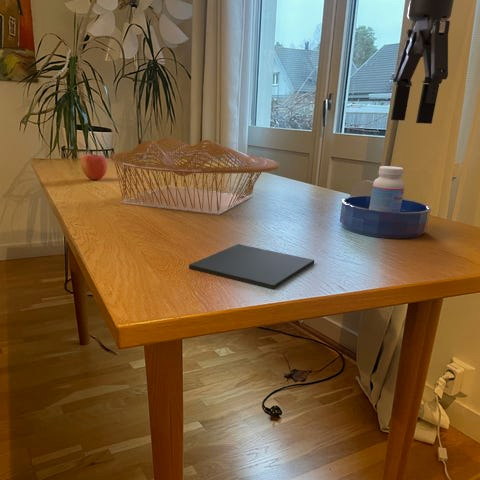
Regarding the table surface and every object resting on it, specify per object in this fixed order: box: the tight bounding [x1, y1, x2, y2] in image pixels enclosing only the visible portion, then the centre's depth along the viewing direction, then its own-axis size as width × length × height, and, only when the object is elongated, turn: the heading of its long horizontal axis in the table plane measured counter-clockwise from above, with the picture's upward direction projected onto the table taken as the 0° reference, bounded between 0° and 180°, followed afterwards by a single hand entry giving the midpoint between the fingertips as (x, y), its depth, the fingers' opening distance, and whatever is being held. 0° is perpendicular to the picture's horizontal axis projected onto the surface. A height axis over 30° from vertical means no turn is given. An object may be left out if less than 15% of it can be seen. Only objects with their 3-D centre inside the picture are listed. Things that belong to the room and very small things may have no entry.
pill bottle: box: [369, 165, 406, 212], centre depth 95 cm, size 6×6×11 cm
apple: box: [80, 149, 108, 181], centre depth 136 cm, size 7×7×8 cm
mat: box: [188, 243, 315, 290], centre depth 72 cm, size 14×14×1 cm
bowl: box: [339, 196, 432, 240], centre depth 97 cm, size 17×17×5 cm
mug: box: [349, 179, 374, 197], centre depth 113 cm, size 8×10×10 cm
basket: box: [109, 137, 281, 216], centre depth 113 cm, size 36×40×14 cm
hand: (409, 121), depth 94 cm, fingers open, 13 cm apart
